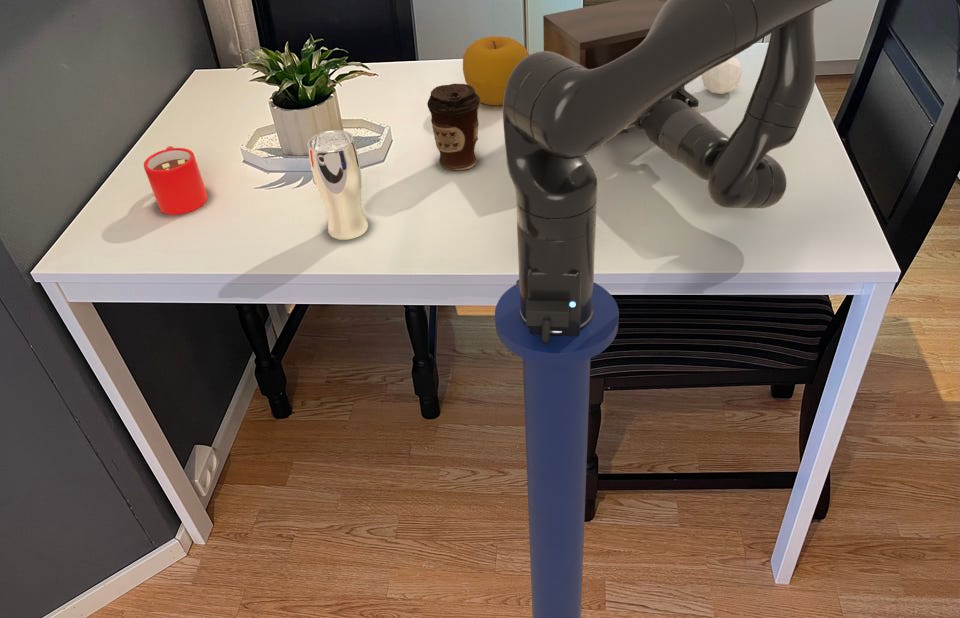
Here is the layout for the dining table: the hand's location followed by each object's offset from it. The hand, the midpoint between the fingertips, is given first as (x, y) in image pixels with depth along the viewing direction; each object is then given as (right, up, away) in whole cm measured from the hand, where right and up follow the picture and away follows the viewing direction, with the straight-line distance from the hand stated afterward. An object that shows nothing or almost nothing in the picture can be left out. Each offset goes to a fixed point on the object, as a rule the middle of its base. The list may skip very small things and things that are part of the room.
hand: (629, 92), depth 132 cm
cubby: (-1, -3, +10) cm, 10 cm away
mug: (-75, -17, 0) cm, 77 cm away
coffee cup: (-29, -11, +3) cm, 31 cm away
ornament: (+20, +5, +18) cm, 27 cm away
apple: (-22, +4, +21) cm, 31 cm away
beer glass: (-45, -24, -11) cm, 52 cm away
